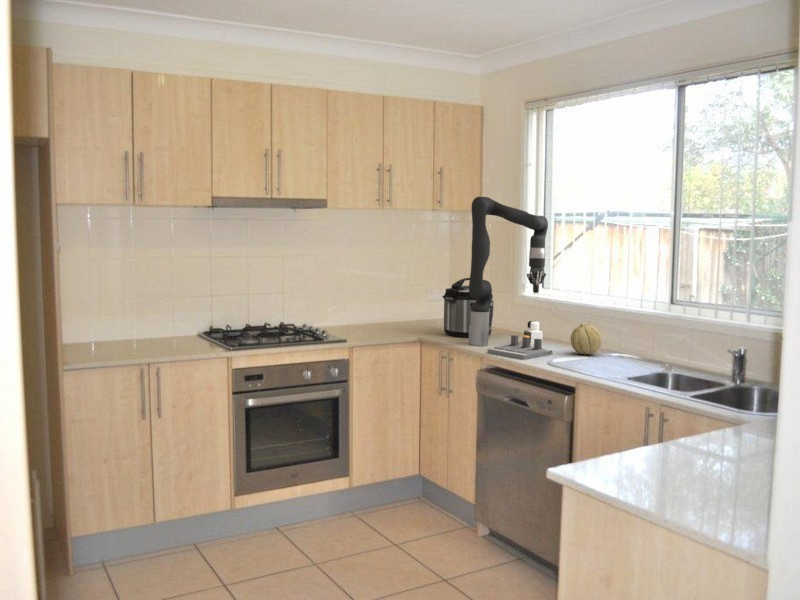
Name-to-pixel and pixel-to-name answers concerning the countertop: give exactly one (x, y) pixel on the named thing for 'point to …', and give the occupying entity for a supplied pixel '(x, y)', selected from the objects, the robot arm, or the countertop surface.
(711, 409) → the countertop surface
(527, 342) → the post
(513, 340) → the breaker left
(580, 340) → the cantaloupe
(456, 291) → the pressure cooker
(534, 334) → the medicine bottle
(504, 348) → the panel
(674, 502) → the countertop surface
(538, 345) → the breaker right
